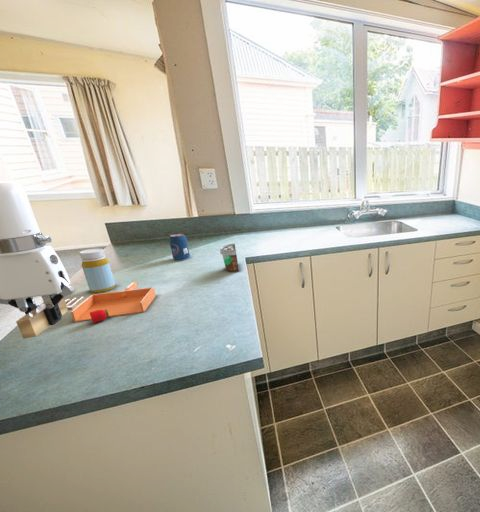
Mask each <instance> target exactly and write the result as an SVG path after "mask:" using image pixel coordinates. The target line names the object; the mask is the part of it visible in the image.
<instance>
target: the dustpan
mask: <svg viewBox="0 0 480 512" xmlns="http://www.w3.org/2000/svg"><path fill="white" fill-rule="evenodd" d="M138 285H139V284H138V283H137V282H136V281H133V282H131V284H129V285H128V286H127V287H126V288H125V289H124V290H120V291H113V292H102V293H94V294H91V295H89V296H88V297H87V298H85V300H84V301H82V302H81V303H80V304H79V305H77V306H76V307H75V308H74V309H73V310H70V314H71V318H72V320H73V322H74V323H78V322H86V321H92V319H91V316H90V312H93V311H96V310H107V311H108V314H109V317H108V318H112V317H119V316H126V315H133V314H134V315H135V314H139V313H145V312H146V310H147V309H148V307H149V306H150V305H151V304H152V302H153V301H154V299H155V298H156V292H155V288H154V287H145V288H144V287H143V288H137V287H138Z"/></svg>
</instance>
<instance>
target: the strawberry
mask: <svg viewBox="0 0 480 512" xmlns="http://www.w3.org/2000/svg"><path fill="white" fill-rule="evenodd" d="M90 316H91V319H92V320H91V322H92V323H93V324H96V323H99V322H103V321H105V320H106V319H107V318H110V317H109V314H108V311H107V310H96V311H93V312H90Z"/></svg>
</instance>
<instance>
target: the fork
mask: <svg viewBox="0 0 480 512" xmlns="http://www.w3.org/2000/svg"><path fill="white" fill-rule="evenodd" d="M85 300H86V298H85V296H81V297H80V298H78V297H74V298H73V299H72V300H71V299H70V298H67V299H65V297H64V298H63V299H62V300H61V301H60V302H59V303H58V306H59V308H60V311H61V314H62V316H63V315H65V314H66V313H67V312H69V311H72V310H74V309H75V308H76V307H77V306H79V305H80V304H81V303H82V302H83V301H85ZM44 309H46V306H45V304H44V302H43V303H41V304H40V305H39V306H38V307H37V308H35V309H34V310H32V311H31V312H29V313H28V314H24V315H23V316H22V317H20V318H19V319H17V320H16V321H15V323H16V326H17V327H18V330H19V332H20V334H21V337H22V339H28V338H35V337H37V336H39V335H40V334H41V333H42V332H44V331H45V330H46V329H48V328H49V327H50V326H51V325H49V323H48V320H47V318H46V315H45V313H44Z"/></svg>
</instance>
